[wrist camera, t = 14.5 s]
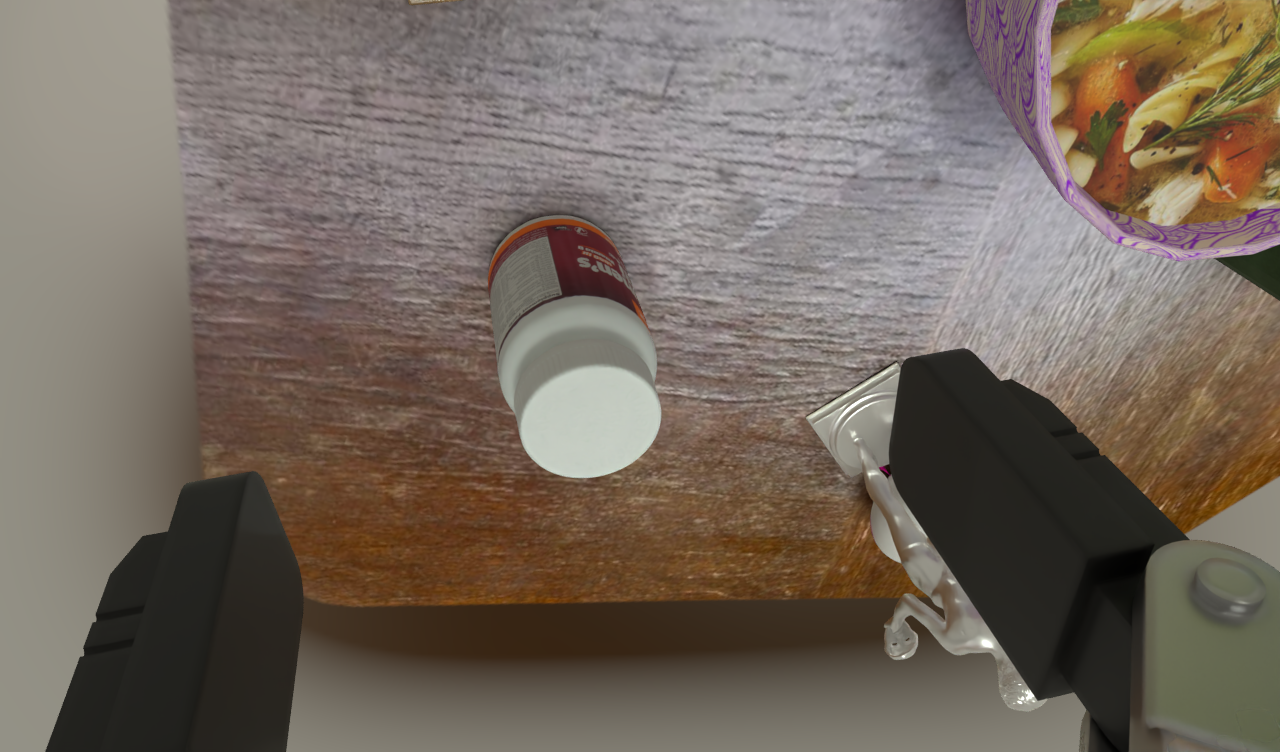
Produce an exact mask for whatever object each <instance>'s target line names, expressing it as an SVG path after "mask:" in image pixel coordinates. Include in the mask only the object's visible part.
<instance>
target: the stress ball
mask: <svg viewBox="0 0 1280 752" xmlns="http://www.w3.org/2000/svg"><path fill="white" fill-rule="evenodd" d="M879 469H881V470H883V471H885V472H886V473H887V474H888V475H889V477H888V478H887V479H888V481H889V483H890V486H891V488H892V491H893V494H894V496H895V498H896V499H897V500H898V501H899V502H900V503H901V504H902V505H903V507H904V508H905V510H906V512H907V513H908V515H909V517H910V518H911V519H912V521H913V522H914V523H915V524H916V525H917V527H918V528H919V529H920V530H921V531H922V533H923V534H924V535H925V537H927V536H926V533H925V532H924V530H923V529H922V527H921V526H920V525H919V523H918V522H917V520H916V519H915V517H914V516H913V514H912V513H911V511H910V510H909V508H908V507H907V505H906V504H905V502H904V501H903V499H902V498H901V496H900V494H899V493H898V491H897V488H896V486H895V484H894V481H893V478H892V474H891V475H890V474H889V473H888V472H887V470H886V469H885V466H882V467H879ZM870 525H871V531H872V535H873V538H874V540H875V542H876V544H877V545H878V547H879V548H880V549H881V551H882V552H883V553H884V554H886V555H887V556H888V557H890V558H891V559H893V560H895V561H897V562H900V563H901V560H900V557H899V555H898V552H897V550H896V547H895V545H894V542H893V539H892V536H891V533H890V529H889V527H888V524H887V521H886V519H885V517H884V516H883V514H882V512H881V510H880V509H879V507H878V506H877V505H876V504H875V503H874V502H873V505H872V509H871V516H870Z"/></svg>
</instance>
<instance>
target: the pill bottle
mask: <svg viewBox="0 0 1280 752" xmlns="http://www.w3.org/2000/svg"><path fill="white" fill-rule="evenodd" d="M488 289H489V298H490V307H491V316H492V324H493V332H494V340H495V349H496V357H497V366H498V376H499V380H500V385H501V389H502V392H503V395H504V397H505V399H506V401H507V403H508V404H509V406H510V408H511V409H512V410H513V412H514V413H515V414H516V419H517V423H518V429H519V434H520V438H521V441H522V444H523V447H524V448H525V450H526V452H527V453H528V455H529V456H530V457H531V458H532V459H533V460H534V461H535V462H536V463H537V464H538V465H540V466H541V467H543V468H544V469H546V470H548V471H550V472H552V473H555V474H558V475H561V476H566V477H572V478H591V477H598V476H603V475H607V474H610V473H613V472H615V471H618V470H620V469H622V468H624V467H626V466H628V465H629V464H631V463H632V462H634V461H635V460H637V459H638V458H639V457H640V456H641V455H642V454H643V453H645V451H646V450H647V449H648V448H649V447H650V445H651V444H652V442H653V441H654V439H655V437H656V435H657V433H658V430H659V427H660V422H661V406H660V401H659V397H658V394H657V391H656V388H655V383H654V381H655V377H656V371H657V355H656V349H655V345H654V342H653V339H652V337H651V334H650V331H649V328H648V325H647V323H646V320H645V317H644V315H643V312H642V310H641V307H640V304H639V301H638V299H637V296H636V294H635V291H634V289H633V286H632V283H631V281H630V278H629V276H628V273H627V271H626V268H625V266H624V263H623V261H622V258H621V256H620V254H619V252H618V250H617V248H616V246H615V244H614V243H613V241H612V240H611V239H610V238H609V236H608V235H607V234H606V233H605V232H603V231H602V230H601V229H600V228H598V227H597V226H595V225H594V224H592V223H590V222H588V221H586V220H583V219H581V218H578V217H573V216H565V215H554V216H545V217H540V218H536V219H533V220H530V221H528V222H526V223H524V224H523V225H521V226H519V227H518V228H516V229H515V230H513V231H512V232H511V233H510V234H508V235H507V236H506V238H505V239H504V240H503V241H502V242H501V243H500V245H499V246H498V247H497V249H496V251H495V253H494V255H493V257H492V260H491V263H490V267H489V274H488Z"/></svg>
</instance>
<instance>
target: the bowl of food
mask: <svg viewBox="0 0 1280 752" xmlns="http://www.w3.org/2000/svg"><path fill="white" fill-rule="evenodd" d="M966 11H967V27H968V34H969V37H970V39H971V41H972V44H973V46H974V48H975V51H976V53H977V55H978V58H979V60H980V63H981V65H982V67H983V70H984V72H985V74H986V77H987V79H988V81H989V84H990V86H991V88H992V90H993V92H994V94H995V96H996V97H997V99H998V101H999V103H1000V105H1001V107H1002V109H1003V111H1004V112H1005V114H1006V115H1007V117H1008V119H1009V120H1010V122H1011V123H1012V125H1013V126H1014V128H1015V129H1016V131H1017V133H1018V134H1019V135H1020V137H1021V138H1022V140H1023V141H1024V142H1025V144H1026V145H1027V147H1028V148H1029V149H1030V151H1031V152H1032V154H1033V155H1034V157H1035V158H1036V160H1037V161H1038V163H1039V164H1040V166H1041V167H1042V169H1043V170H1044V172H1045V173H1046V175H1047V176H1048V178H1049V179H1050V181H1051V182H1052V183H1053V185H1054V186H1055V187H1056V189H1057V190H1058V192H1059V193H1060V194H1061V196H1062V197H1063V198H1064V200H1065V201H1066V202H1068V203H1069V204H1070V205H1071V206H1072V207H1073V208H1074V209H1075V210H1077V211H1078V212H1079V213H1080V214H1081V215H1082V216H1083V217H1084V218H1086V219H1087V220H1088V221H1089V222H1090V223H1091V224H1092V225H1093V226H1095V227H1096V228H1097V229H1098V230H1099V231H1100V232H1101V233H1102V234H1104V235H1105V236H1106V237H1107V238H1108V239H1109V240H1110V241H1111V242H1113V243H1114V244H1117V245H1121V246H1125V247H1128V248H1132V249H1136V250H1139V251H1143V252H1146V253H1150V254H1154V255H1157V256H1161V257H1165V258H1168V259H1172V260H1176V261H1187V260H1198V259H1208V258H1219V257H1229V256H1240V255H1251V254H1255V253H1258V252H1260V251H1263V250H1266V249H1269V248H1271V247H1274V246H1277V245H1279V244H1280V0H966Z"/></svg>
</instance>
